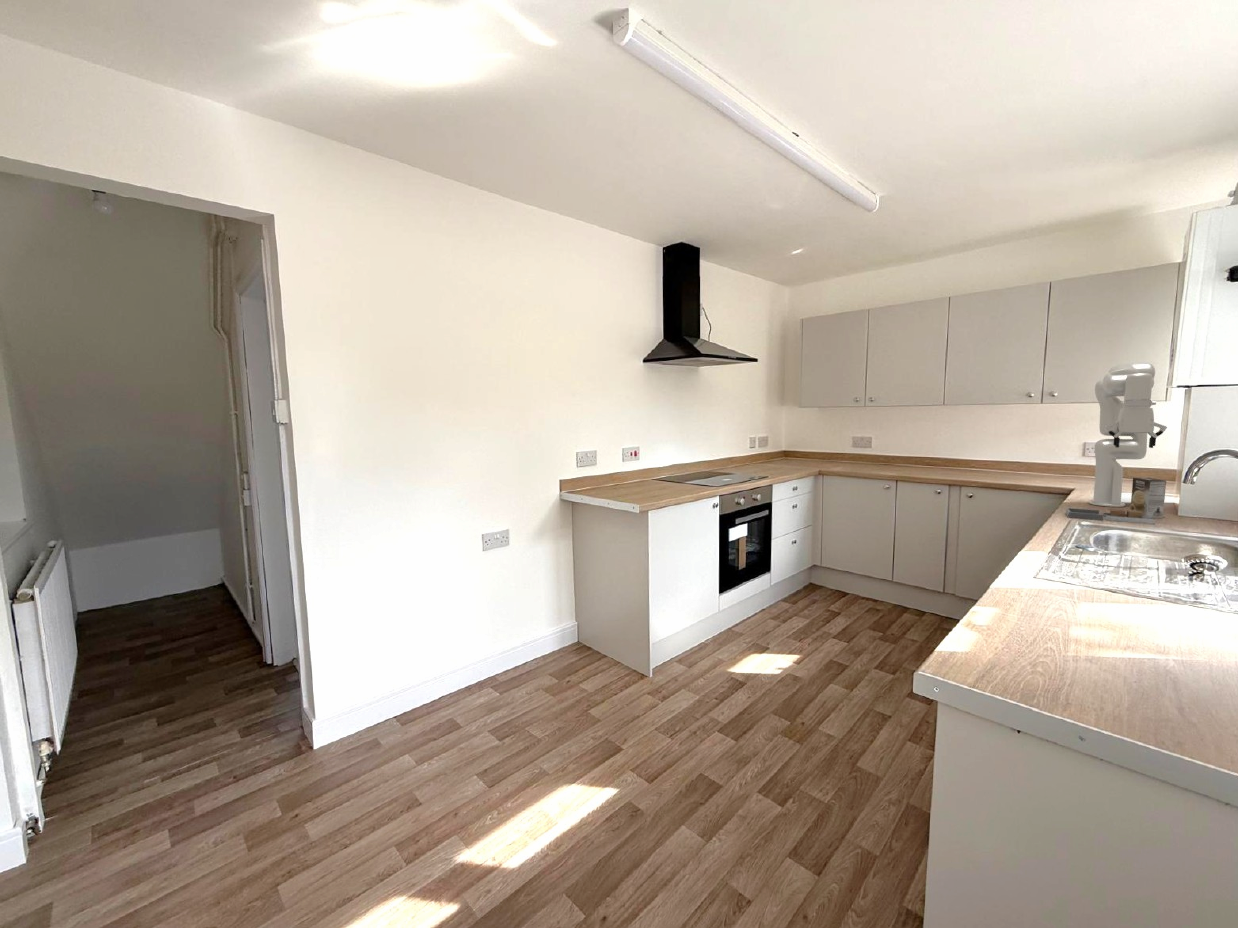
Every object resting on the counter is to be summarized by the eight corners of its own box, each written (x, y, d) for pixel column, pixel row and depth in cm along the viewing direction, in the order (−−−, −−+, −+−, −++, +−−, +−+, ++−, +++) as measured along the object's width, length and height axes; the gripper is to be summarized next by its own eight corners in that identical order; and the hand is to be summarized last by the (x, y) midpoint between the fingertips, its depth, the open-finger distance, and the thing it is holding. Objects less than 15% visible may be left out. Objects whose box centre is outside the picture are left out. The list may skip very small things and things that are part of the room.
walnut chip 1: (1109, 518, 213) (1110, 508, 212) (1122, 519, 210) (1123, 509, 210) (1111, 519, 210) (1112, 510, 209) (1124, 520, 207) (1125, 511, 207)
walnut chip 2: (1126, 519, 210) (1126, 510, 209) (1139, 520, 207) (1140, 510, 207) (1128, 521, 207) (1128, 511, 206) (1142, 522, 204) (1142, 512, 204)
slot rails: (1102, 516, 216) (1102, 512, 216) (1148, 519, 208) (1148, 515, 208) (1105, 520, 209) (1106, 515, 208) (1154, 523, 200) (1154, 519, 200)
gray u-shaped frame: (1065, 513, 224) (1065, 507, 224) (1098, 515, 218) (1098, 510, 217) (1068, 517, 215) (1068, 512, 214) (1103, 520, 208) (1103, 514, 208)
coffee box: (1128, 513, 220) (1131, 477, 219) (1146, 514, 219) (1149, 477, 218) (1146, 517, 211) (1149, 480, 210) (1164, 518, 210) (1167, 480, 209)
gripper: (1165, 404, 199) (1162, 447, 200) (1105, 405, 209) (1102, 446, 211) (1170, 403, 193) (1167, 448, 194) (1108, 405, 203) (1105, 447, 205)
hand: (1133, 447), depth 202 cm, fingers open, 9 cm apart
